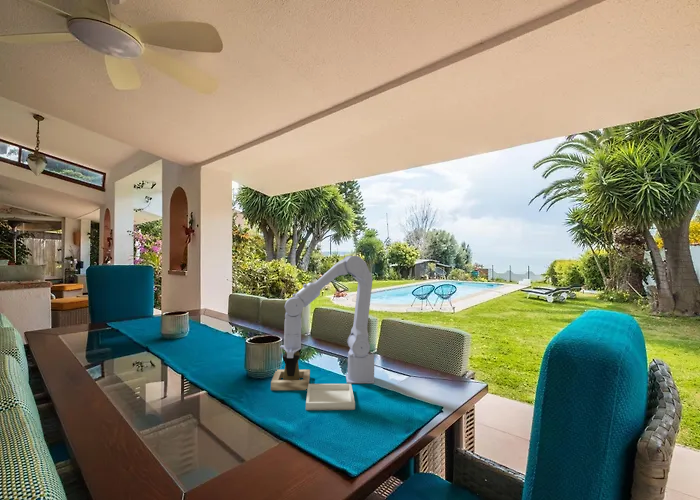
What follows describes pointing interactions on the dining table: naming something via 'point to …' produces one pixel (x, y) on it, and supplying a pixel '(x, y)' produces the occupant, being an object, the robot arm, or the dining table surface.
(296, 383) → the frame
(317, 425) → the dining table surface
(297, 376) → the olive tall rounded piece
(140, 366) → the dining table surface
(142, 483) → the dining table surface
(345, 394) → the tray
